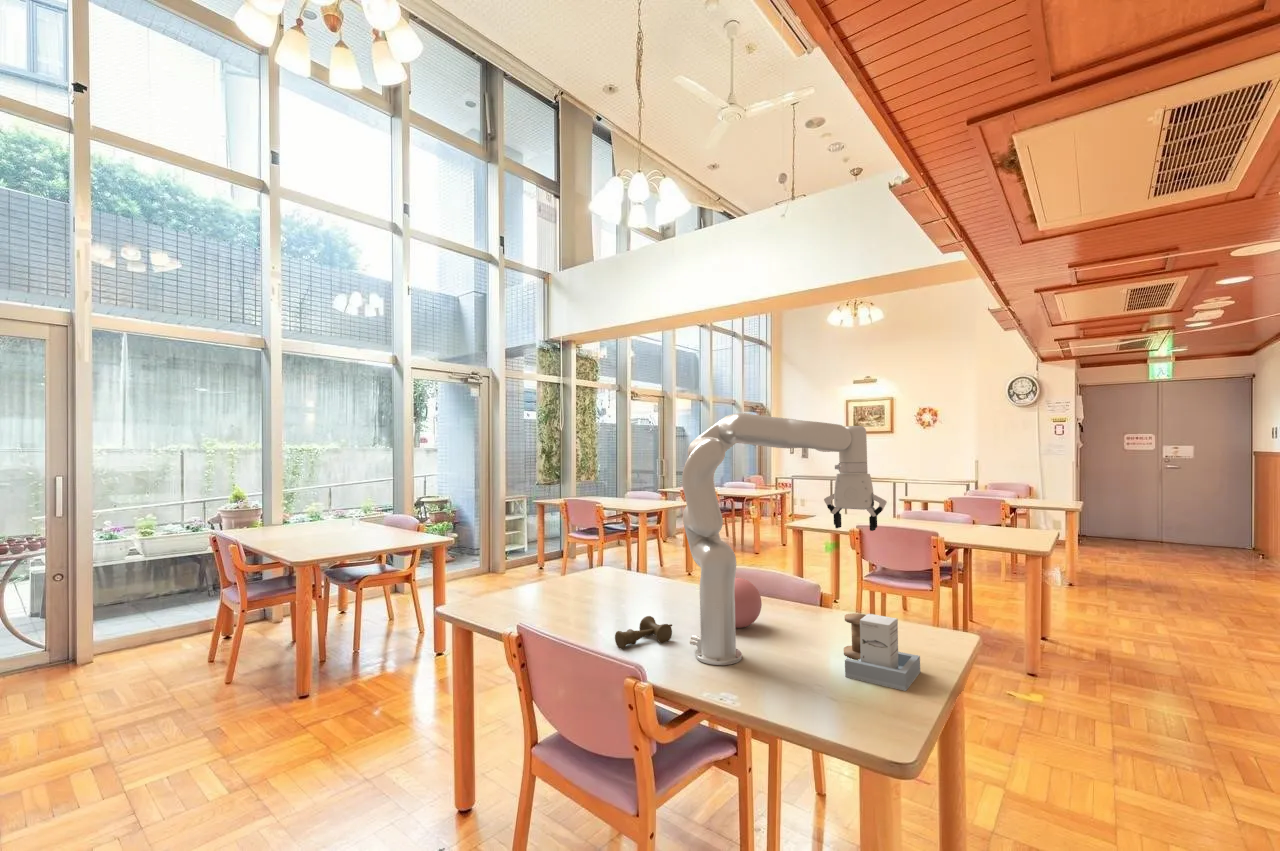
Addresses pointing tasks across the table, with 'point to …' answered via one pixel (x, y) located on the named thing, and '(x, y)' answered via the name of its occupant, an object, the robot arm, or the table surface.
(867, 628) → the supplement box
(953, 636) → the table surface
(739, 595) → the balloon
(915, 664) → the square tray
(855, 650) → the doorknob
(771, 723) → the table surface
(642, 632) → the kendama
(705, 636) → the robot arm
